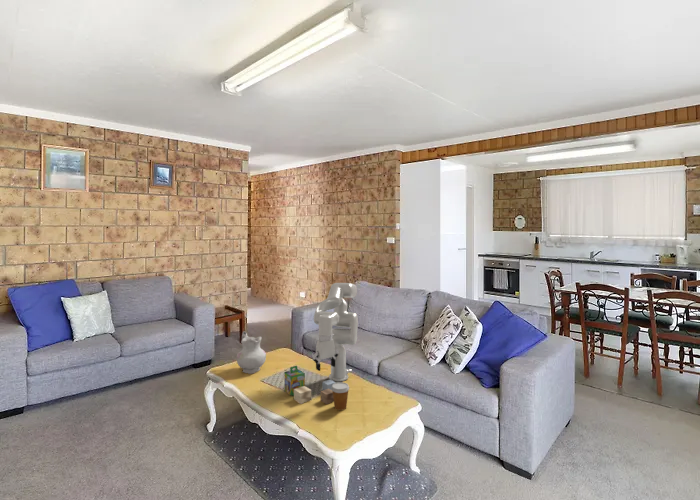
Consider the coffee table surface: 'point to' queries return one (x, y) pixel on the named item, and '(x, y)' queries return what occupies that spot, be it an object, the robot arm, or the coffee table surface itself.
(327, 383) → the slate-blue block
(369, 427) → the coffee table surface
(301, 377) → the chalk box
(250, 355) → the ceramic pitcher
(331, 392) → the walnut block
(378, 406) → the coffee table surface
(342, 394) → the disposable coffee cup
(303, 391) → the maple block
